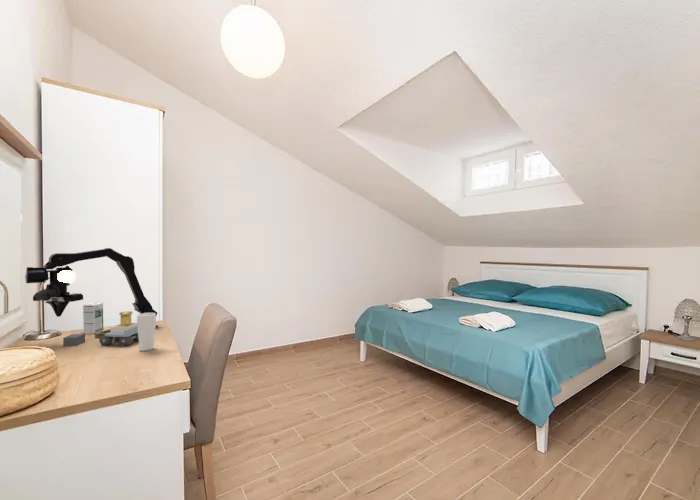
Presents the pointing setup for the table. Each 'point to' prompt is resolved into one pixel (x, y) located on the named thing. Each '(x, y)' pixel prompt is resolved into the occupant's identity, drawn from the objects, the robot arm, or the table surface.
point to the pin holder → (101, 333)
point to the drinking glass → (146, 330)
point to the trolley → (120, 337)
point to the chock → (73, 339)
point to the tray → (121, 328)
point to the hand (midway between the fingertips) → (58, 316)
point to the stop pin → (125, 318)
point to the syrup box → (93, 318)
